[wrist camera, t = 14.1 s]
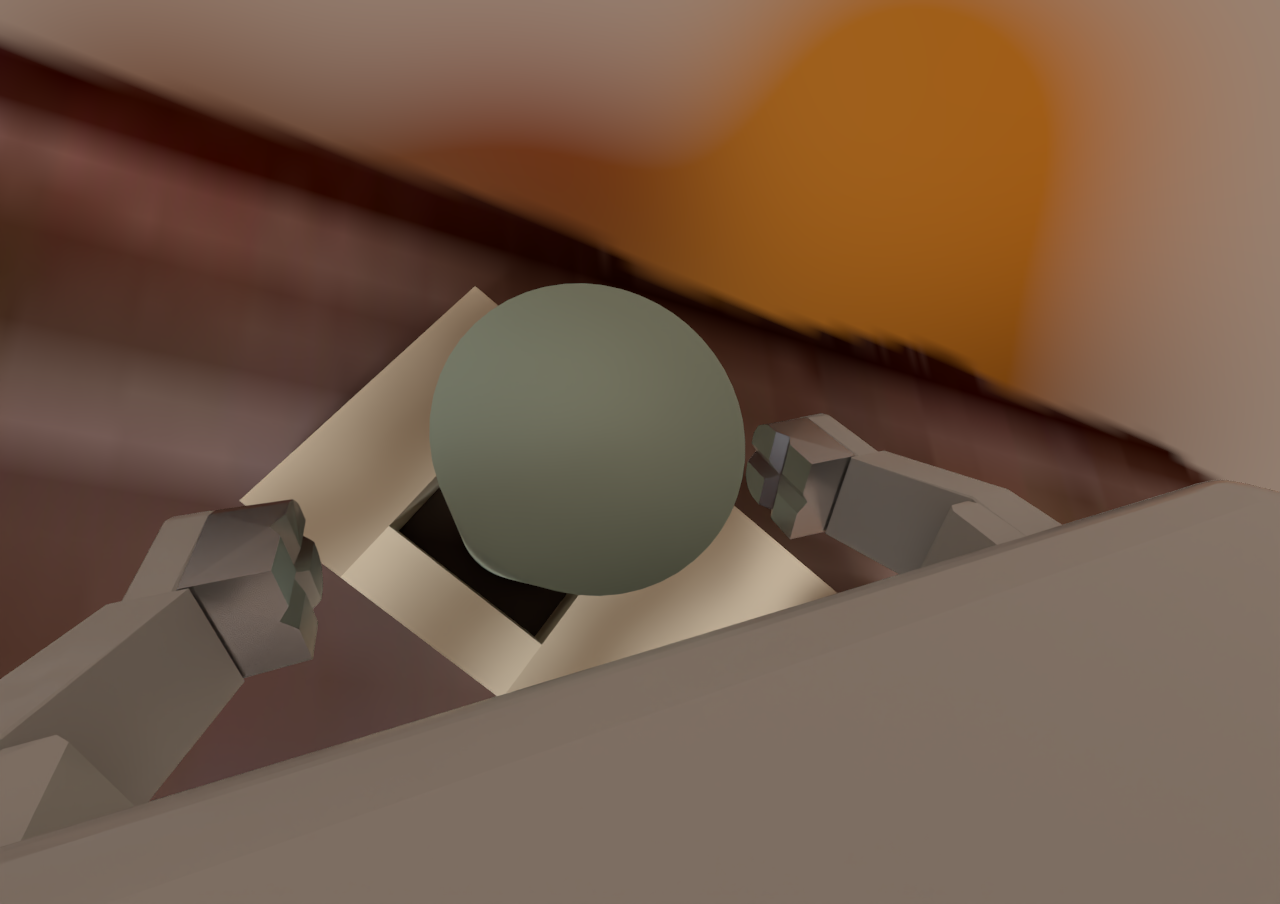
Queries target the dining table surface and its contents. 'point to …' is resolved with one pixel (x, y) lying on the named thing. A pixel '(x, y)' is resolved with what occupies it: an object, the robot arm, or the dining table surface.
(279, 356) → the dining table surface
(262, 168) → the dining table surface
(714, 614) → the hole plate
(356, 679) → the dining table surface
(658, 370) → the peg
